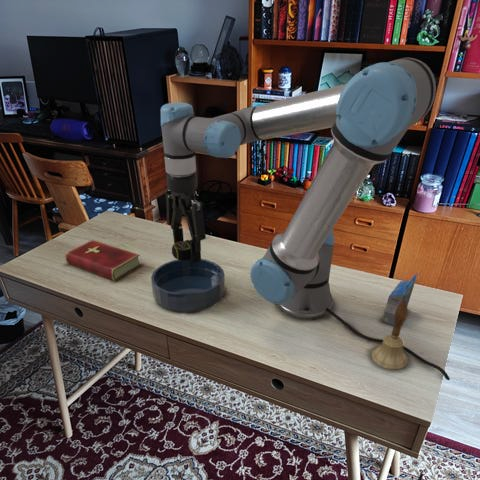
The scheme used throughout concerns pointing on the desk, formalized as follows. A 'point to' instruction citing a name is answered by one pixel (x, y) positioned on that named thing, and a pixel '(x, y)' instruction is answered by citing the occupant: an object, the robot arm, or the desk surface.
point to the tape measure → (182, 250)
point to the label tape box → (398, 298)
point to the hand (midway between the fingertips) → (187, 255)
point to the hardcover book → (103, 259)
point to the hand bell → (393, 344)
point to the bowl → (188, 285)
